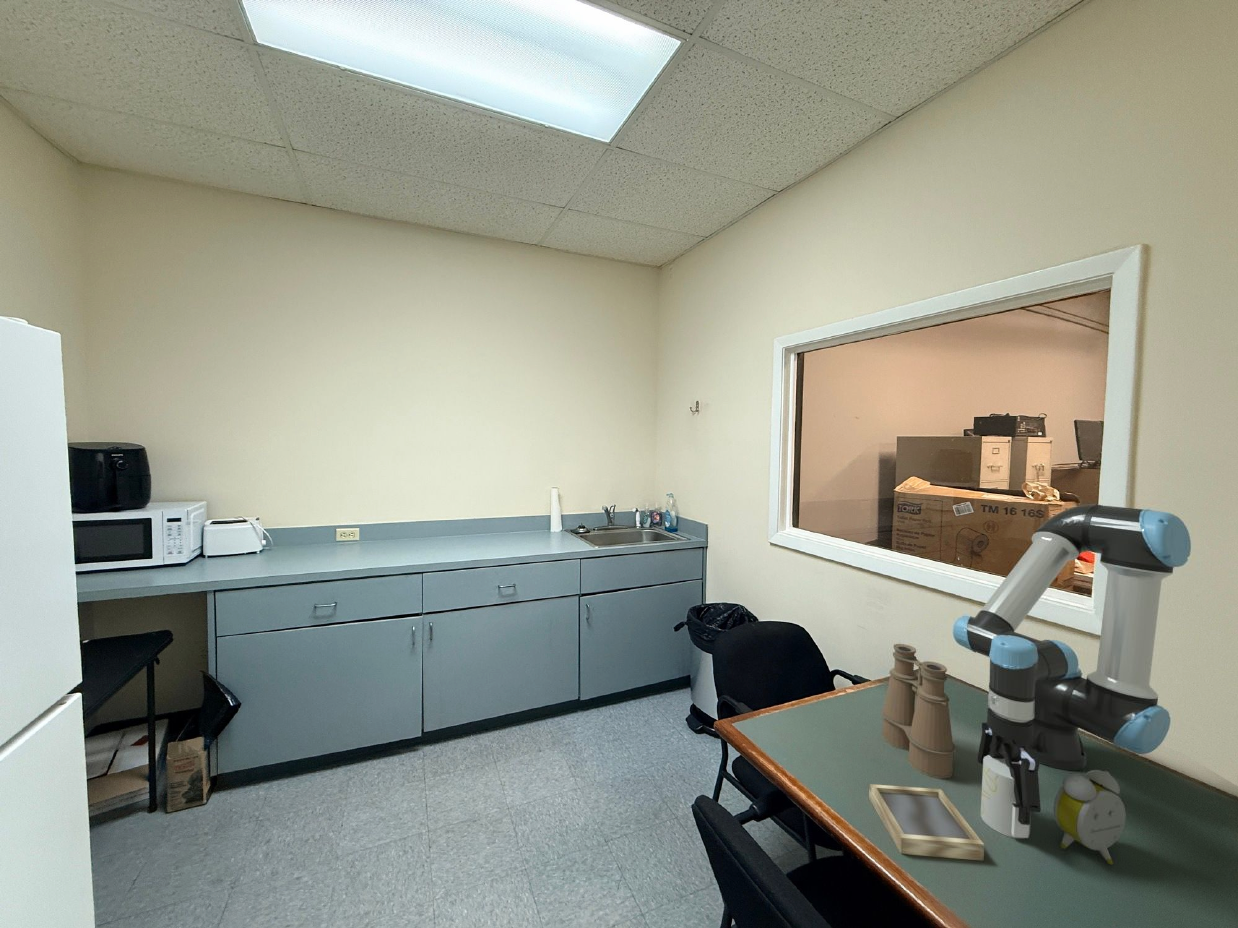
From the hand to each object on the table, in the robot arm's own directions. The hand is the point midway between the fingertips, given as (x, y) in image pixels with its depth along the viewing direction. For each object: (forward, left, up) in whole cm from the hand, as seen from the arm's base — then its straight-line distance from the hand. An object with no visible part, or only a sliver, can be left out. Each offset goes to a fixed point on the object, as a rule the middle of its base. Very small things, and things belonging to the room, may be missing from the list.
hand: (1004, 818), depth 104 cm
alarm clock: (-12, +6, -1) cm, 14 cm away
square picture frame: (+18, +3, -1) cm, 18 cm away
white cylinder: (0, 0, -1) cm, 1 cm away
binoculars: (+7, -23, -1) cm, 24 cm away
